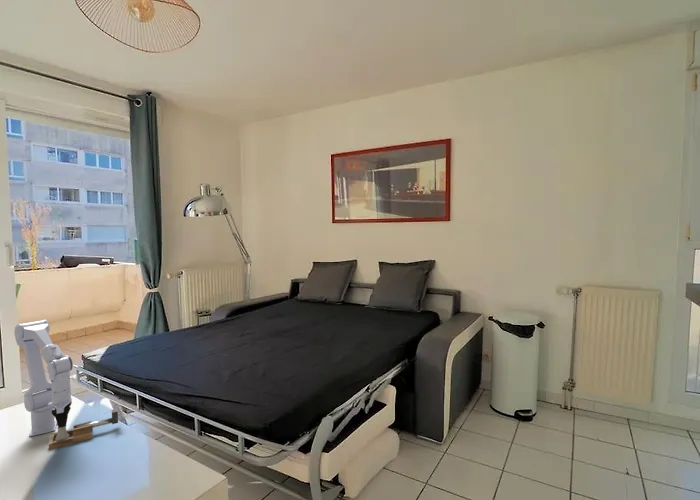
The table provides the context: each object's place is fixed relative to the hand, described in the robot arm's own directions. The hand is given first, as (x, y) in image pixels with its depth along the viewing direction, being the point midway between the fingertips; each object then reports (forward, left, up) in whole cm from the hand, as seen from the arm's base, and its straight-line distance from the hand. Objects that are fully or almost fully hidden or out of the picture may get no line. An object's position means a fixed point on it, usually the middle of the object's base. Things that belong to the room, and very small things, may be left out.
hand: (62, 424), depth 142 cm
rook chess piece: (0, 0, -6) cm, 7 cm away
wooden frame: (0, +2, -6) cm, 7 cm away
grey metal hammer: (0, +11, -4) cm, 12 cm away
